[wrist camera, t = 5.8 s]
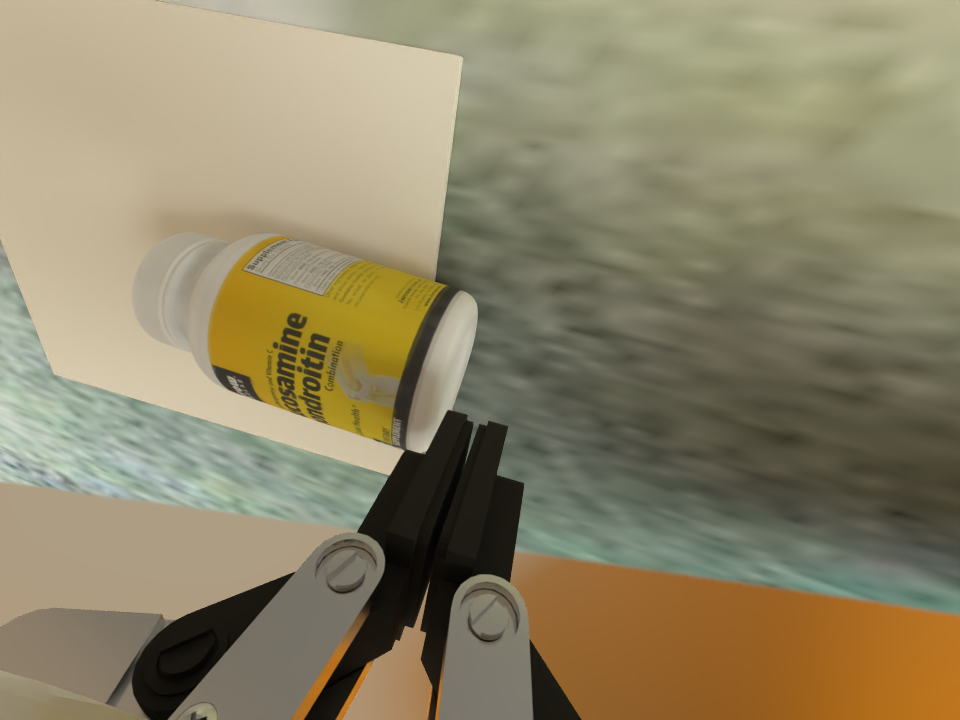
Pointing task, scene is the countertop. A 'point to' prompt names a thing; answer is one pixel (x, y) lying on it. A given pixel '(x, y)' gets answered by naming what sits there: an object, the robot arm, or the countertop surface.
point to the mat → (205, 175)
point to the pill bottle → (312, 331)
